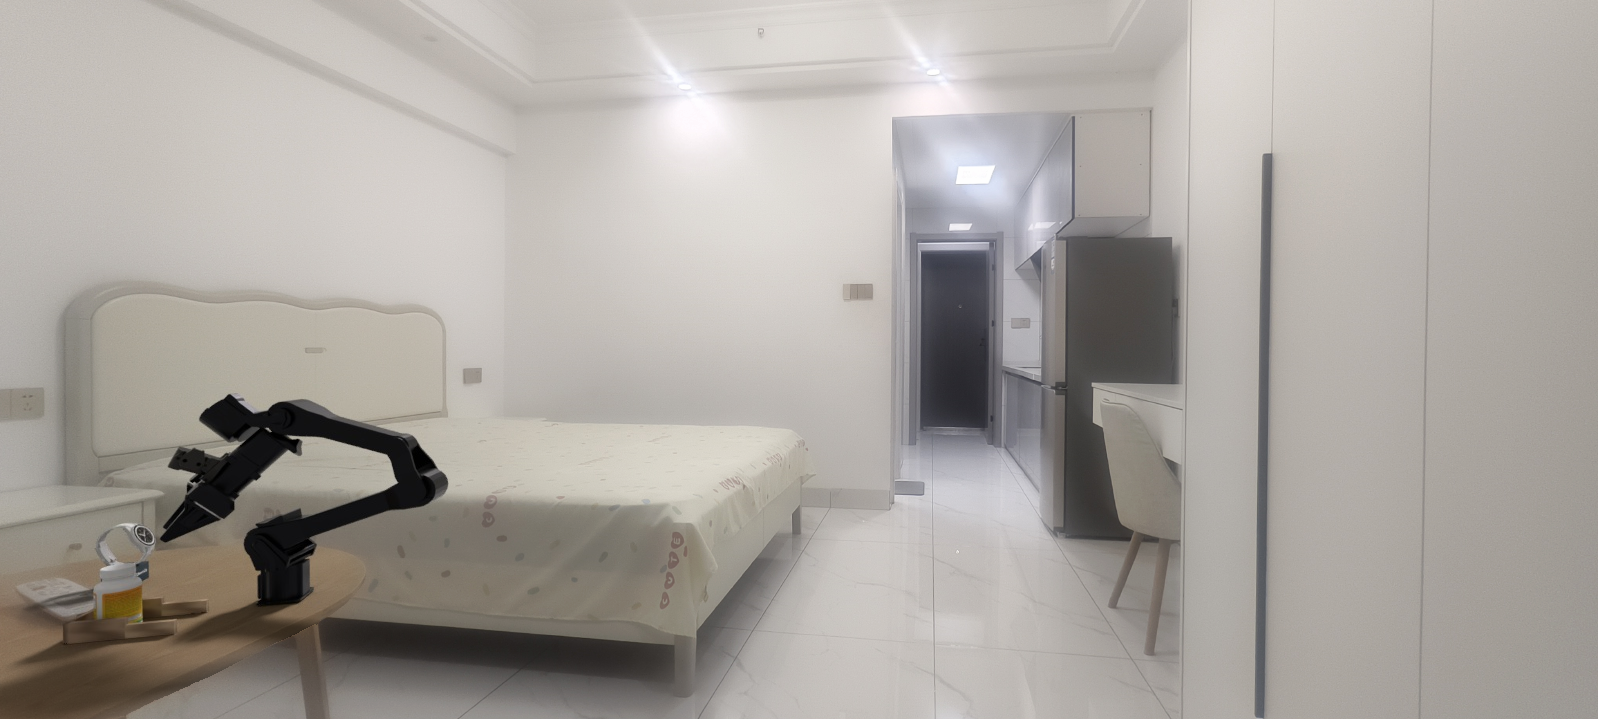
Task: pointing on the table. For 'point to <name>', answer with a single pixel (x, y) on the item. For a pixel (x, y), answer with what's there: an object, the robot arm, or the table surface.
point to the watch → (138, 538)
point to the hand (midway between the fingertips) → (163, 534)
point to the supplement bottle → (118, 593)
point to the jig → (119, 628)
